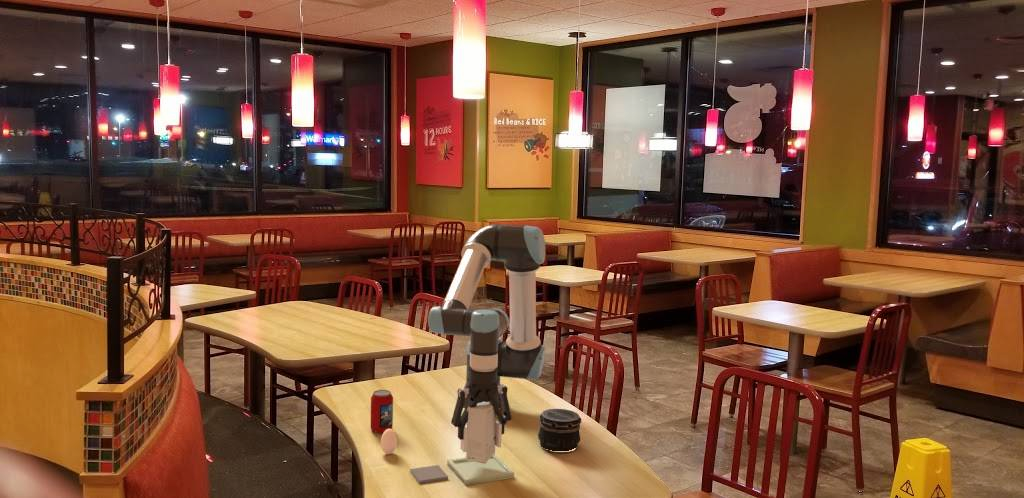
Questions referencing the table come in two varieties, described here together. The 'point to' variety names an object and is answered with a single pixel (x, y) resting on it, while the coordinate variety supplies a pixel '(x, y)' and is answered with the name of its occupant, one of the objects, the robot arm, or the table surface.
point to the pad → (429, 474)
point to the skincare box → (481, 432)
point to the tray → (480, 470)
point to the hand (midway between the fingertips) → (480, 447)
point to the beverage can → (381, 411)
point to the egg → (389, 441)
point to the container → (559, 429)
